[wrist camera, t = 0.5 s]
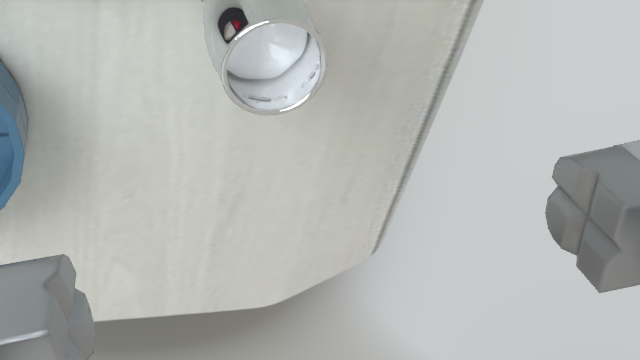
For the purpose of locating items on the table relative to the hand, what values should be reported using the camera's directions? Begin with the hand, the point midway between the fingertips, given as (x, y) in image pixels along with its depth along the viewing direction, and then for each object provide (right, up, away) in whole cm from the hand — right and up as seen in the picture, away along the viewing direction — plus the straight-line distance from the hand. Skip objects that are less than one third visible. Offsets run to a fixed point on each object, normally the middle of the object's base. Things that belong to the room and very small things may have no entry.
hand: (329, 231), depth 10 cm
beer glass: (-7, +17, +37) cm, 41 cm away
